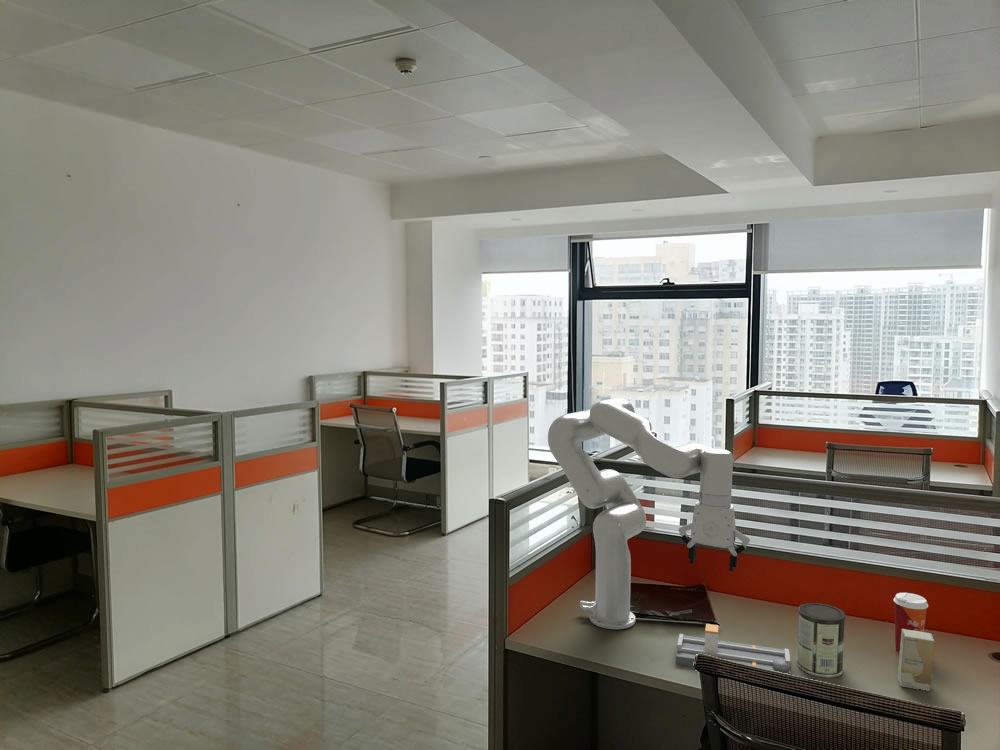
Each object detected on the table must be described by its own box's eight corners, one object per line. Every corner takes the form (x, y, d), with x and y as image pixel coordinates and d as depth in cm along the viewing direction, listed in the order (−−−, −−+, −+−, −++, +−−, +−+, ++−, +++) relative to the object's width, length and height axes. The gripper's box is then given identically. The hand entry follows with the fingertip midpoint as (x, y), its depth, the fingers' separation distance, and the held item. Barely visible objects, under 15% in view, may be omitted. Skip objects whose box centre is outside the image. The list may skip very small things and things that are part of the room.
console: (675, 663, 179) (676, 649, 179) (680, 642, 190) (680, 628, 190) (790, 681, 171) (790, 666, 170) (787, 657, 182) (788, 643, 182)
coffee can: (819, 654, 184) (822, 599, 183) (852, 673, 175) (855, 616, 173) (786, 661, 181) (789, 605, 179) (818, 681, 171) (821, 623, 170)
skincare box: (899, 687, 168) (902, 635, 167) (897, 677, 172) (899, 627, 171) (931, 692, 166) (935, 640, 165) (928, 682, 170) (931, 632, 169)
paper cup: (912, 661, 180) (916, 606, 179) (884, 648, 187) (886, 595, 186) (932, 654, 184) (935, 600, 183) (903, 641, 191) (906, 589, 189)
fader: (704, 652, 181) (705, 630, 180) (705, 645, 184) (706, 623, 184) (717, 654, 180) (718, 632, 179) (718, 646, 183) (718, 625, 183)
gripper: (676, 497, 182) (673, 564, 184) (748, 508, 174) (744, 577, 176) (684, 490, 189) (682, 554, 191) (754, 500, 180) (751, 567, 182)
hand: (712, 565), depth 183 cm, fingers open, 9 cm apart
